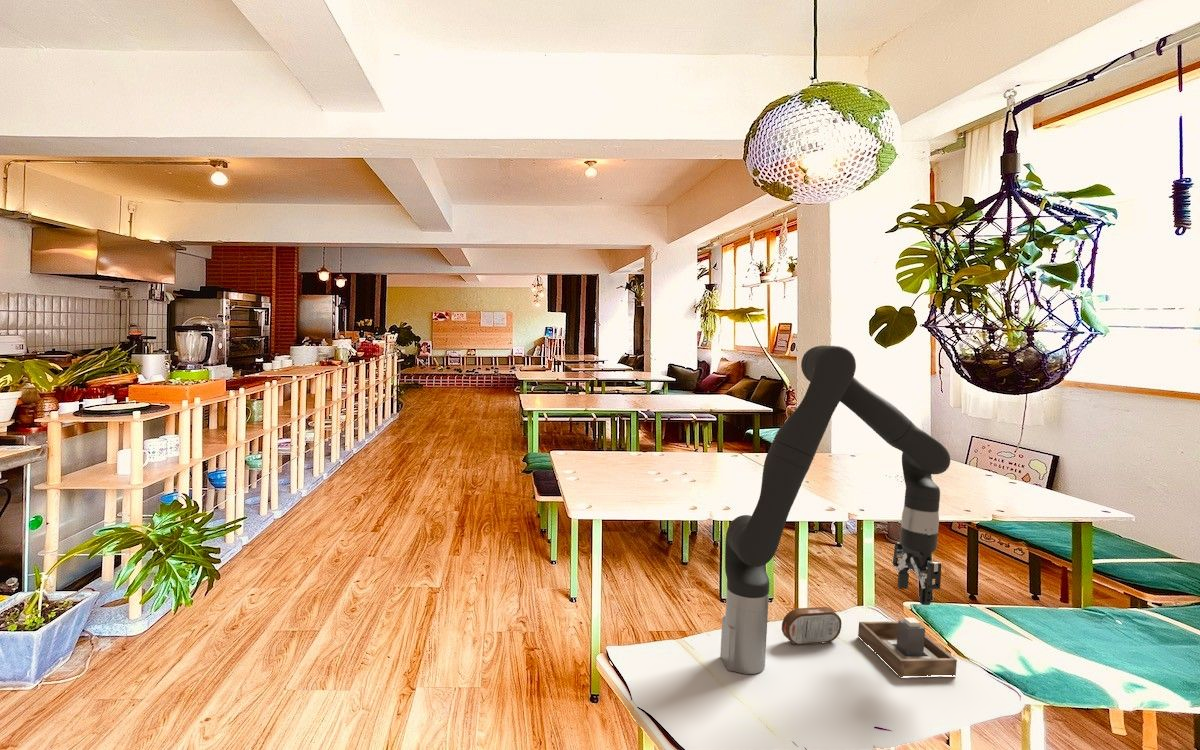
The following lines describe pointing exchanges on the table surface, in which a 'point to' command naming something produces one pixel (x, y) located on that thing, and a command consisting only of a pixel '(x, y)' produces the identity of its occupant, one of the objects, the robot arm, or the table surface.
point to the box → (885, 645)
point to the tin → (811, 625)
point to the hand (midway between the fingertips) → (913, 595)
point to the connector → (910, 637)
